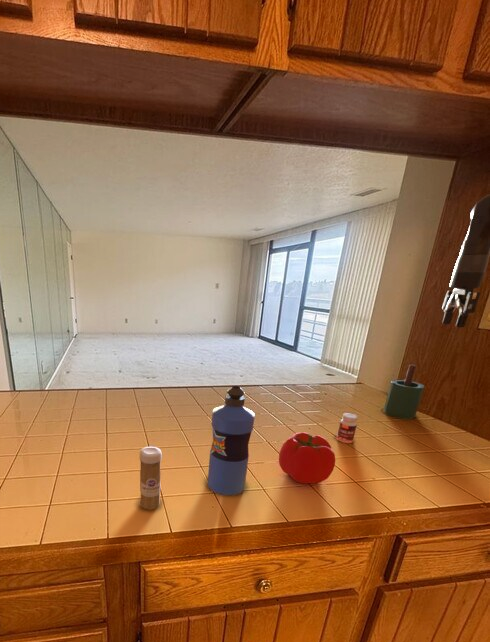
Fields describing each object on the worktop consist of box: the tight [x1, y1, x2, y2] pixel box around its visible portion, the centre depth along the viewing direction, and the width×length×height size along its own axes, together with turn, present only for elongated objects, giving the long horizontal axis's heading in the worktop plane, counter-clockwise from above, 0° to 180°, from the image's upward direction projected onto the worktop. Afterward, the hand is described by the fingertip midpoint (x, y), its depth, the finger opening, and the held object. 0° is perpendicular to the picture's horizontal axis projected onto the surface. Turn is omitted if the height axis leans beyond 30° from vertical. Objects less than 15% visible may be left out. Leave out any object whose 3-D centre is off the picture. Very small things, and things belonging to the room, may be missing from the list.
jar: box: [382, 379, 426, 420], centre depth 129 cm, size 10×10×12 cm
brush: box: [404, 364, 418, 387], centre depth 127 cm, size 4×4×18 cm
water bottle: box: [207, 385, 256, 496], centre depth 80 cm, size 9×9×25 cm
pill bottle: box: [336, 412, 359, 444], centre depth 108 cm, size 5×5×8 cm
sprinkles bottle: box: [139, 446, 162, 511], centre depth 74 cm, size 5×5×14 cm
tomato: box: [278, 431, 336, 485], centre depth 87 cm, size 14×13×10 cm
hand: (452, 325), depth 112 cm, fingers open, 8 cm apart
